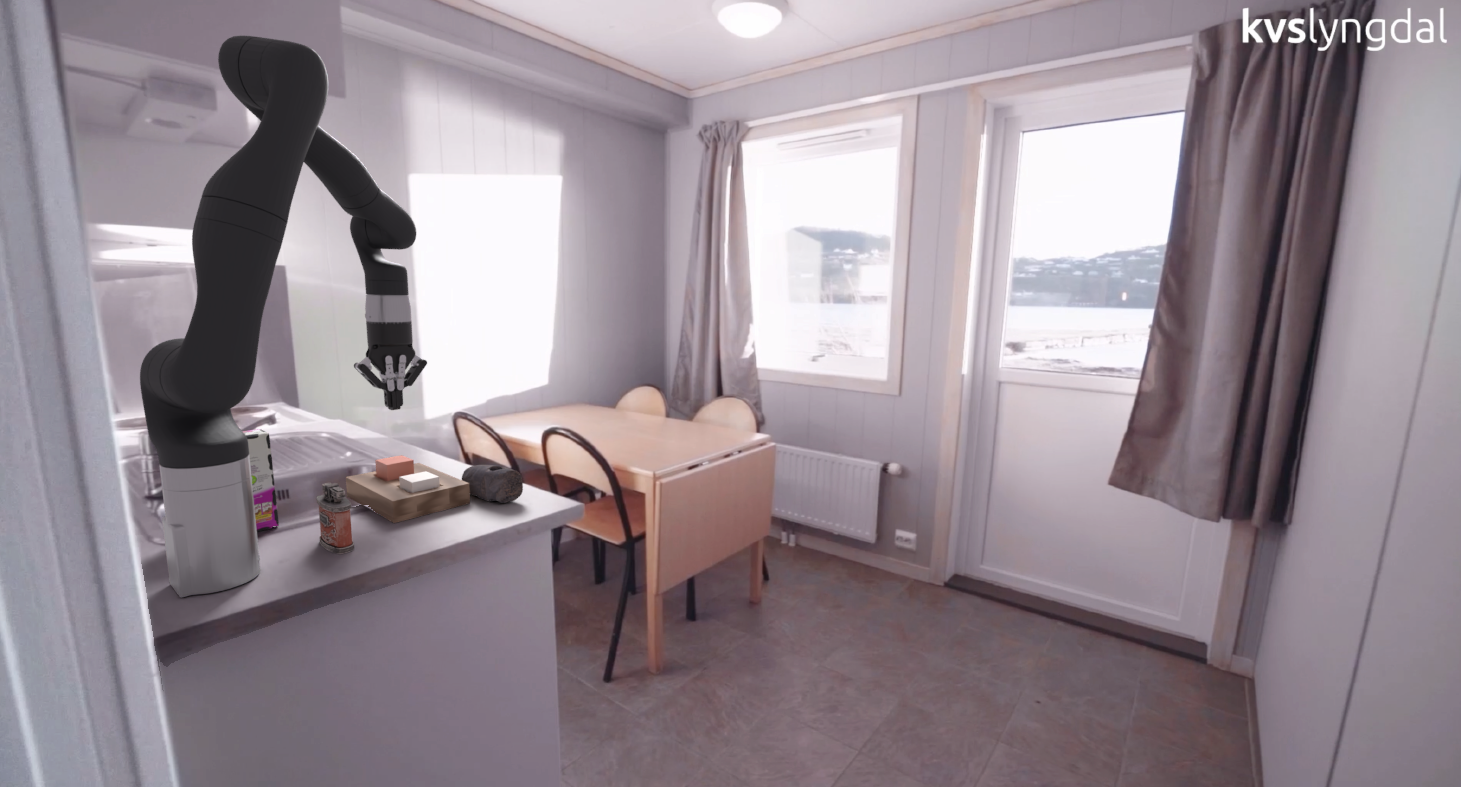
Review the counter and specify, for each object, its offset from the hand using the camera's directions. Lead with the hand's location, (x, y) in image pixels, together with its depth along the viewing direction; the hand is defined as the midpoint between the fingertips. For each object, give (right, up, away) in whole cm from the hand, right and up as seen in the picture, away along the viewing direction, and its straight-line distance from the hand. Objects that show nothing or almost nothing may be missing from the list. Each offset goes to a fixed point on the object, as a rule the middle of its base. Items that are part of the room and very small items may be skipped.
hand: (394, 409), depth 118 cm
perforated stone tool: (+17, -18, +2) cm, 25 cm away
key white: (+7, -16, -4) cm, 18 cm away
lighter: (+3, -21, -21) cm, 30 cm away
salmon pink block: (-1, -14, +2) cm, 14 cm away
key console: (+3, -18, 0) cm, 18 cm away
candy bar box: (-16, -20, -18) cm, 32 cm away
